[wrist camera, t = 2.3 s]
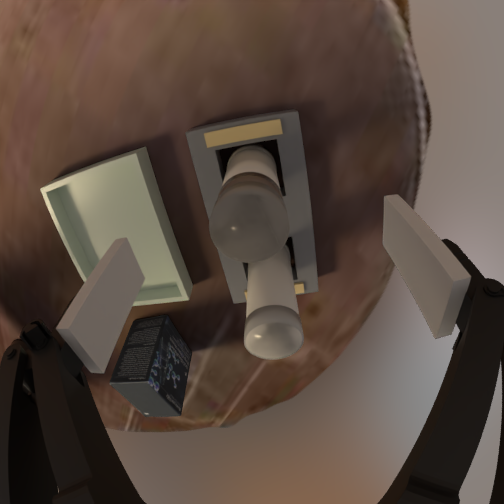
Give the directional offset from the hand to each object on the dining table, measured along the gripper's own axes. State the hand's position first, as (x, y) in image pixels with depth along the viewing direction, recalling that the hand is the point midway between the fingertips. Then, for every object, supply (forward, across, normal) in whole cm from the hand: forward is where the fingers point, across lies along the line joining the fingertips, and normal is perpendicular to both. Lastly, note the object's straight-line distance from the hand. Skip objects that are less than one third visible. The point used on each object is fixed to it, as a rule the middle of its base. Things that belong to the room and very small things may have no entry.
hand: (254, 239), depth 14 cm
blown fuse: (+13, 0, 0) cm, 13 cm away
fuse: (+13, 0, -9) cm, 16 cm away
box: (+13, -16, -20) cm, 29 cm away
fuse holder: (+13, 0, -5) cm, 14 cm away
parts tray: (+13, -16, -4) cm, 21 cm away
